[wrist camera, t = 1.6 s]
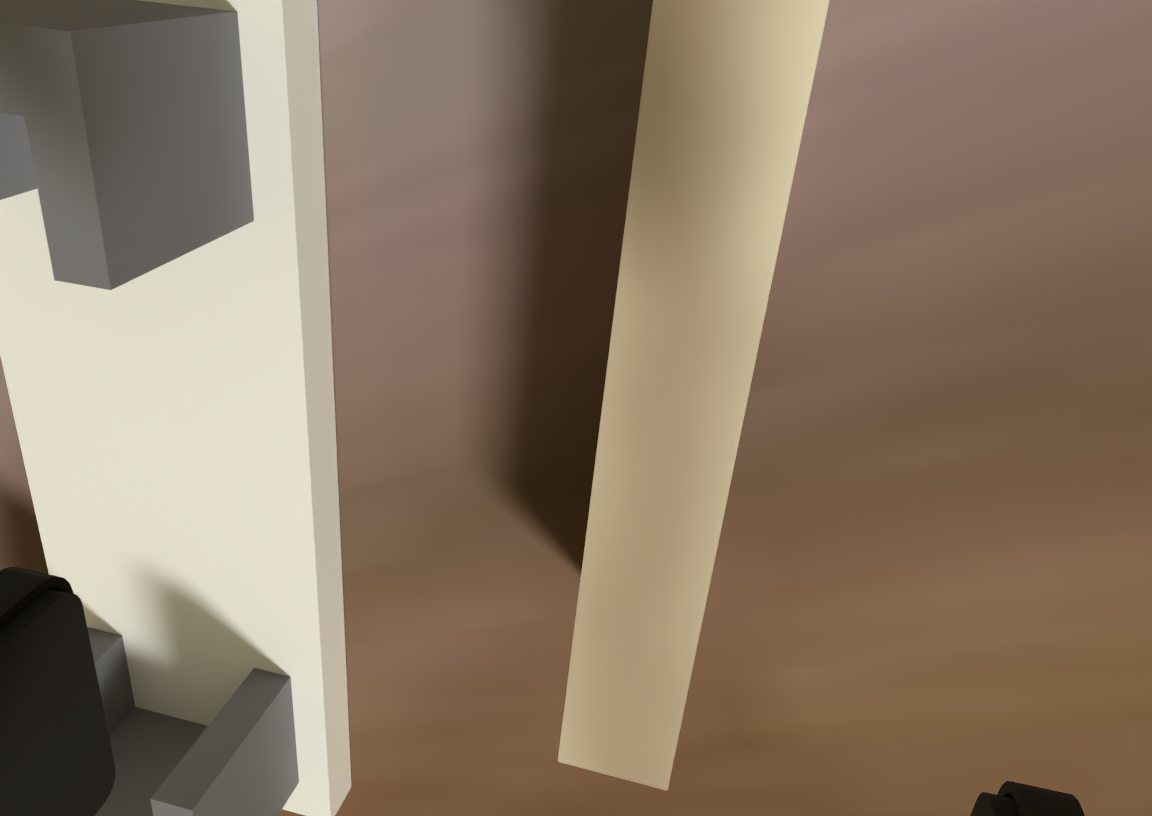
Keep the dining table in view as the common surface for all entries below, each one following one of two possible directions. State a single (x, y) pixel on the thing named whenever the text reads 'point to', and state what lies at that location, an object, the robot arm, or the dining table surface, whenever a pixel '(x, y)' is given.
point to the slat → (682, 360)
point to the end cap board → (182, 384)
